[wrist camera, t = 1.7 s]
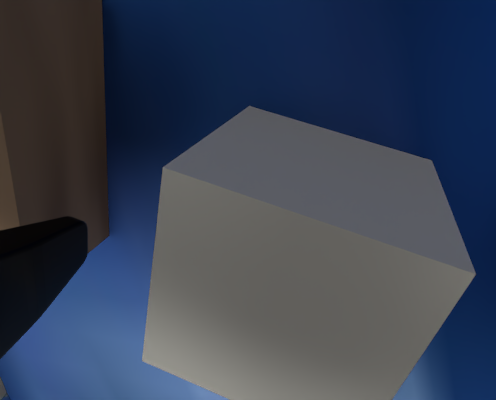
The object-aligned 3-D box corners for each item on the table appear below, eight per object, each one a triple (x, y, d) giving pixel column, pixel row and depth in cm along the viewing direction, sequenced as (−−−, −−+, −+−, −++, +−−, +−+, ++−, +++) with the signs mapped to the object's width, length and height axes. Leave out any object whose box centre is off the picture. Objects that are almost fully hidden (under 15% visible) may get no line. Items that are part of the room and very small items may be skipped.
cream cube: (431, 159, 10) (476, 274, 5) (362, 299, 12) (355, 454, 8) (250, 105, 10) (162, 167, 6) (219, 246, 13) (142, 360, 9)
